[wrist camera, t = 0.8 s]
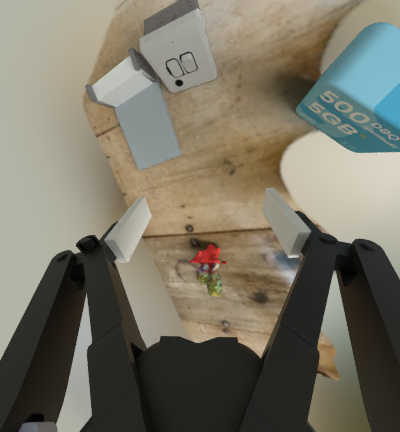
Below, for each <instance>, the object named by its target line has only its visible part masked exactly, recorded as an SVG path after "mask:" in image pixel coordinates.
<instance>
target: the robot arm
mask: <svg viewBox="0 0 400 432" xmlns="http://www.w3.org/2000/svg"><path fill="white" fill-rule="evenodd" d="M262 211H263V213H264V215H265V217H266V219H267V220H268V222H269V224H270V226H271V228H272V229H273V231H274V233H275V235H276V237H277V238H278V240H279V242H280V244H281V246H282V247H283V249H284V251H285V253H286V255H287V256H288V258H292V257H299V255H300V253H302V254H303V256H304V257H303V259H302V261H301V263H300V267H299V269H298V271H297V274H296V276H295V279H294V281H293V284H292V286H291V288H290V291H289V293H288V296H287V298H286V300H285V303H284V305H283V308H282V310H281V313H280V315H279V317H278V320H277V322H276V325H275V327H274V329H273V332H272V334H271V337H270V339H269V341H268V343H267V345H266V348H265V350H264V352H263V354H262V357H261V358H260V357H259V356H258V355H257V354H256V353H255V352H254V351H253V350H251V349H250V348H248V347H247V346H245V345H243V344H241V343H238V339H237V337H217V338H214V339H211V340H208V341H205V342H201V343H195V342H192V341H189V340H186V339H184V338H182V337H178V336H177V337H176V336H161V338H160V342H158V343H155V344H153V345H152V346H150V347H149V348H147V347H146V345H145V343H144V341H143V339H142V337H141V335H140V332H139V329H138V326H137V324H136V321H135V318H134V315H133V312H132V309H131V306H130V304H129V301H128V298H127V295H126V292H125V289H124V286H123V284H122V281H121V278H120V275H119V272H118V269H117V266H116V264H115V263H114V261H115V259H116V258H117V260H118V261H119V263H120V262H128V261H129V259H130V257H131V255H132V253H133V252H134V250H135V248H136V246H137V244H138V242H139V240H140V238H141V236H142V234H143V232H144V230H145V228H146V226H147V225H148V223H149V221H150V219H151V217H152V216H151V213H150V210H149V208H148V205H147V202H146V199H145V197H138V198H137V199H136V200H135V201H134V203H133V204H132V205H131V206H130V208H129V209H128V210H127V212H126V213H125V214H124V215H123V217H122V218H121V219H120V220H119V221H117V222H115V223H114V224H113V225H112V226H111V227H110V228H109V229H108V231H107V232H106V233H105V234H104V235H103V236H102V238H101V239H100V240H98V239H97V237H96V236H95V235H89V236H86V237H84V238H82V239H81V240H79V241H78V242H77V243H76V247H77V248H78V249H79V250H80V251H81V252H80V253H76V254H74V253H73V252H72V251H70V250H67V251H63V252H61V253H59V254H57V255H56V256H55V257H54V258H53V259H52V260H51V262H50V264H49V266H48V268H47V270H46V272H45V274H44V276H43V278H42V280H41V281H40V283H39V285H38V287H37V289H36V291H35V293H34V295H33V297H32V299H31V301H30V303H29V305H28V307H27V309H26V311H25V313H24V315H23V317H22V319H21V321H20V323H19V325H18V327H17V329H16V331H15V333H14V335H13V337H12V339H11V341H10V342H9V344H8V347H7V348H6V350H5V352H4V355H3V356H2V358H1V360H0V432H57V427H56V423H57V420H58V417H59V414H60V411H61V408H62V405H63V401H64V397H65V393H66V389H67V385H68V379H69V375H70V371H71V365H72V361H73V356H74V351H75V346H76V341H77V336H78V331H79V327H80V322H81V317H82V312H83V308H84V302H85V298H86V293H87V298H88V306H89V316H90V323H91V333H92V344H91V345H90V346H89V347H88V350H87V359H88V360H87V361H88V372H89V383H90V396H91V408H92V416H91V418H90V419H89V421H88V422H87V423H86V424H85V425H84V427H83V428H82V429H81V430H80V432H316V431H315V430H314V429H313V427H312V426H311V425H310V423H309V422H308V421H307V419H308V414H309V409H310V404H311V399H312V394H313V389H314V384H315V379H316V374H317V369H318V364H319V351H318V349H317V344H318V339H319V335H320V330H321V326H322V321H323V316H324V312H325V307H326V302H327V298H328V293H329V288H330V284H331V279H332V275H333V270H336V274H337V278H338V283H339V287H340V293H341V298H342V302H343V307H344V312H345V316H346V321H347V326H348V331H349V336H350V340H351V345H352V350H353V355H354V360H355V365H356V369H357V374H358V379H359V384H360V389H361V393H362V398H363V402H364V406H365V410H366V414H367V418H368V422H369V425H370V427H371V430H372V432H400V279H399V277H398V275H397V274H396V272H395V270H394V268H393V267H392V265H391V263H390V261H389V259H388V257H387V256H386V254H385V252H384V250H383V249H382V248H381V247H380V246H379V245H378V244H376V243H374V242H372V241H369V240H365V239H356V240H354V241H353V243H352V244H351V243H345V242H339V241H338V240H337V239H336V238H335V237H333V236H332V235H329V234H326V233H322V232H321V231H320V230H319V229H318V228H317V227H316V226H315V225H314V224H313V223H312V222H311V220H310V219H308V217H307V216H306V215H305V214H303V213H302V212H300V211H294V210H293V209H292V208H291V207H290V206H289V205H288V204H287V202H286V201H285V200H284V199H283V198H282V197H281V196H280V194H279V193H278V192H277V191H276V190H275V189H274V188H266V191H265V196H264V201H263V207H262Z"/></svg>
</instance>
